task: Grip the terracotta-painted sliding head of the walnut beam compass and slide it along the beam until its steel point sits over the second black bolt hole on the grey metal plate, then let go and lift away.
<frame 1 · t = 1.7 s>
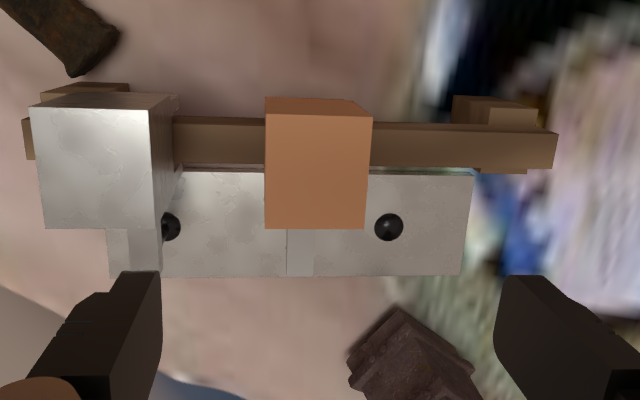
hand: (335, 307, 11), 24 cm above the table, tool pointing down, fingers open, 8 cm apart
beam: (296, 119, 34), on the table
bolt plate: (292, 221, 36), on the table
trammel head: (303, 193, 28), point 8 cm above the table, slide at 0.0 cm
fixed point: (161, 115, 33), resting on bolt plate
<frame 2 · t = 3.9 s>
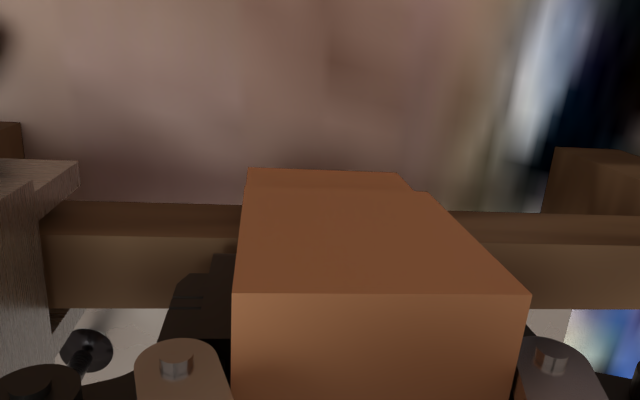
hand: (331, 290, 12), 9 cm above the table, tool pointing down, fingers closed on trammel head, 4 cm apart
beam: (302, 182, 21), on the table
bolt plate: (293, 336, 23), on the table
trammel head: (318, 350, 15), point 8 cm above the table, slide at 0.0 cm, touching gripper
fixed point: (79, 174, 20), resting on bolt plate
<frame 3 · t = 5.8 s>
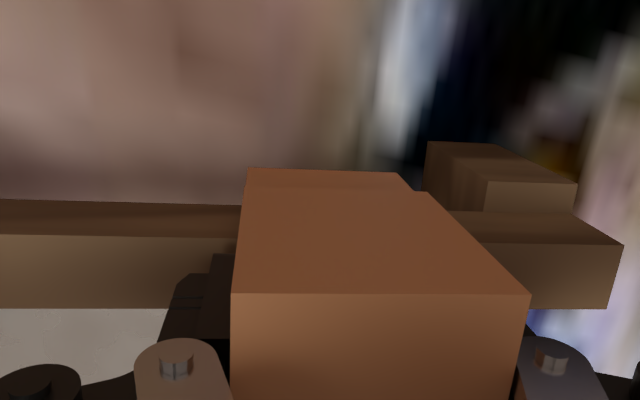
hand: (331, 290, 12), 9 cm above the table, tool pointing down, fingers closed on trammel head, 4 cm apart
beam: (161, 177, 20), on the table
bolt plate: (167, 337, 23), on the table
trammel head: (318, 350, 15), point 8 cm above the table, slide at 5.8 cm, touching gripper
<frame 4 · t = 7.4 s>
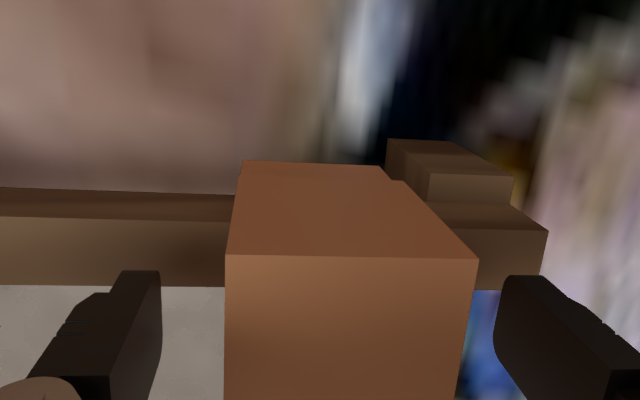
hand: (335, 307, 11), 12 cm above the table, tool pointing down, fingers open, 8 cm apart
beam: (135, 171, 21), on the table
bolt plate: (142, 324, 24), on the table
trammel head: (306, 328, 16), point 8 cm above the table, slide at 7.0 cm
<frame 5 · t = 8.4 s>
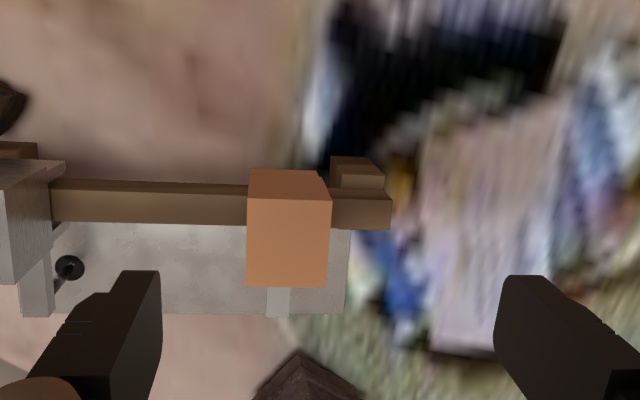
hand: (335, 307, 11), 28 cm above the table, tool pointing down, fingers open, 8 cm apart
beam: (189, 174, 38), on the table
bolt plate: (189, 264, 41), on the table
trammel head: (281, 249, 33), point 8 cm above the table, slide at 7.0 cm
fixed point: (66, 170, 37), resting on bolt plate
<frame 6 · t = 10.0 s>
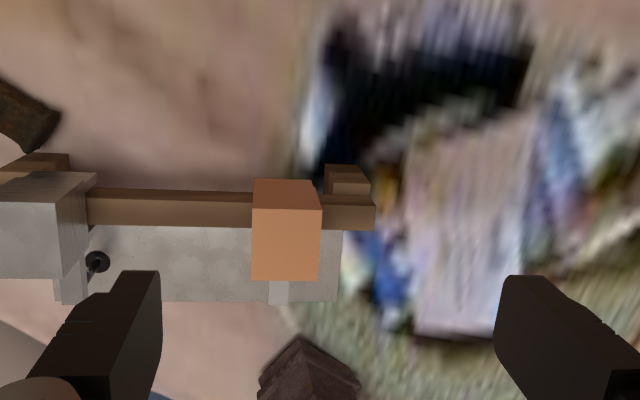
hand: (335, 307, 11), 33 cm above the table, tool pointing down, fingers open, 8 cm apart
beam: (200, 180, 44), on the table
bolt plate: (201, 258, 46), on the table
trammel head: (280, 247, 38), point 8 cm above the table, slide at 7.0 cm
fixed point: (94, 177, 43), resting on bolt plate
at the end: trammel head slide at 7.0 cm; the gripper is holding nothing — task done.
